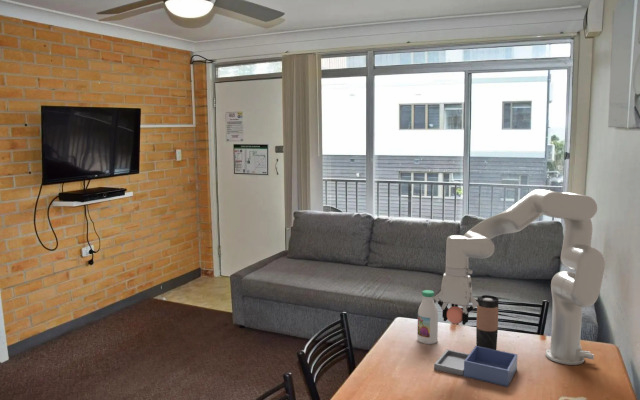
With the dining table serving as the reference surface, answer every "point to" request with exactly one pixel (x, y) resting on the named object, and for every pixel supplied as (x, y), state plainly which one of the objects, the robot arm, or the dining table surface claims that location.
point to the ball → (455, 314)
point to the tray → (451, 362)
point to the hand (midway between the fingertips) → (455, 321)
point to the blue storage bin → (490, 366)
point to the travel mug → (487, 322)
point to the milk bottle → (427, 319)
